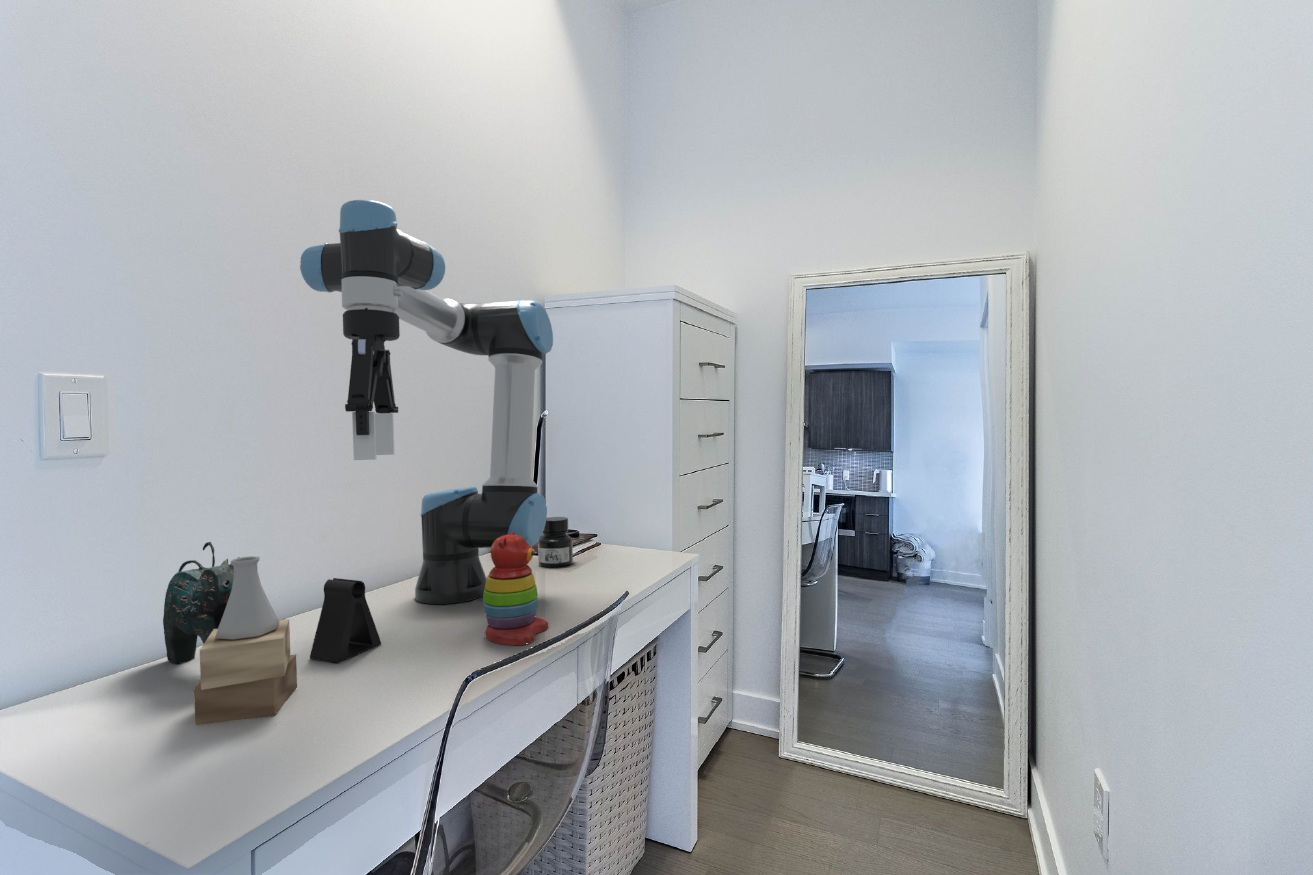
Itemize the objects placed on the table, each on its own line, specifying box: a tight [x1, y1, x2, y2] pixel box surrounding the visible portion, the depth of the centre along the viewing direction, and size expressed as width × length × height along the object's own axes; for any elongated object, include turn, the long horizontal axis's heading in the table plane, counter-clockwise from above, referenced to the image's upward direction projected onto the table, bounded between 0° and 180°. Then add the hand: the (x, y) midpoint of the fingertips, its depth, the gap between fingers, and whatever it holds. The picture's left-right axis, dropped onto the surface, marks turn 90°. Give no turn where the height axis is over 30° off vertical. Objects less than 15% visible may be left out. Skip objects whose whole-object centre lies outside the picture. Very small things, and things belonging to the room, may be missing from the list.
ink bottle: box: [537, 516, 574, 568], centre depth 165 cm, size 10×9×12 cm
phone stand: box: [309, 577, 382, 664], centre depth 104 cm, size 9×6×12 cm, turn 158°
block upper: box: [199, 618, 291, 690], centre depth 84 cm, size 9×9×5 cm
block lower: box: [193, 654, 298, 726], centre depth 85 cm, size 9×9×5 cm
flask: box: [215, 556, 280, 640], centre depth 85 cm, size 7×7×10 cm
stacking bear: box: [482, 532, 549, 646], centre depth 111 cm, size 11×10×18 cm
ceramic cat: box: [162, 541, 240, 665], centre depth 97 cm, size 20×6×20 cm, turn 59°
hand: (375, 457), depth 92 cm, fingers open, 13 cm apart
